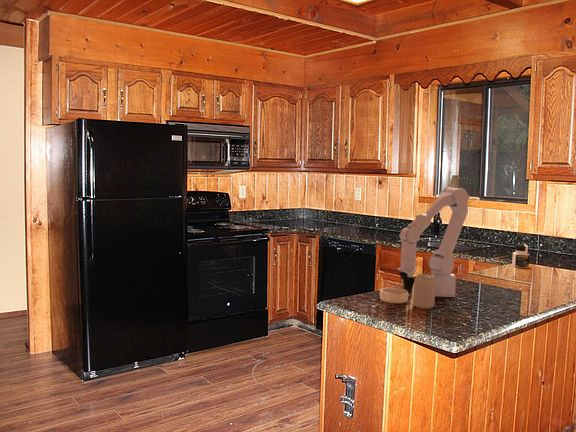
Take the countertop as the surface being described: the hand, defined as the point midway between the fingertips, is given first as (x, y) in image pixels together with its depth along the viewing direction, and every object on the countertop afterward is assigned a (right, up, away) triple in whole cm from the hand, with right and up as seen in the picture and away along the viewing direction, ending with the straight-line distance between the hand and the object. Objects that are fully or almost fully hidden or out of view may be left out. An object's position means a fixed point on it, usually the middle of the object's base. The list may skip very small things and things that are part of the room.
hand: (406, 291), depth 221 cm
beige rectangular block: (0, -2, 0) cm, 2 cm away
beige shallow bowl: (-6, -2, -6) cm, 9 cm away
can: (+3, -4, -16) cm, 17 cm away
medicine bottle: (+77, +3, +75) cm, 108 cm away
